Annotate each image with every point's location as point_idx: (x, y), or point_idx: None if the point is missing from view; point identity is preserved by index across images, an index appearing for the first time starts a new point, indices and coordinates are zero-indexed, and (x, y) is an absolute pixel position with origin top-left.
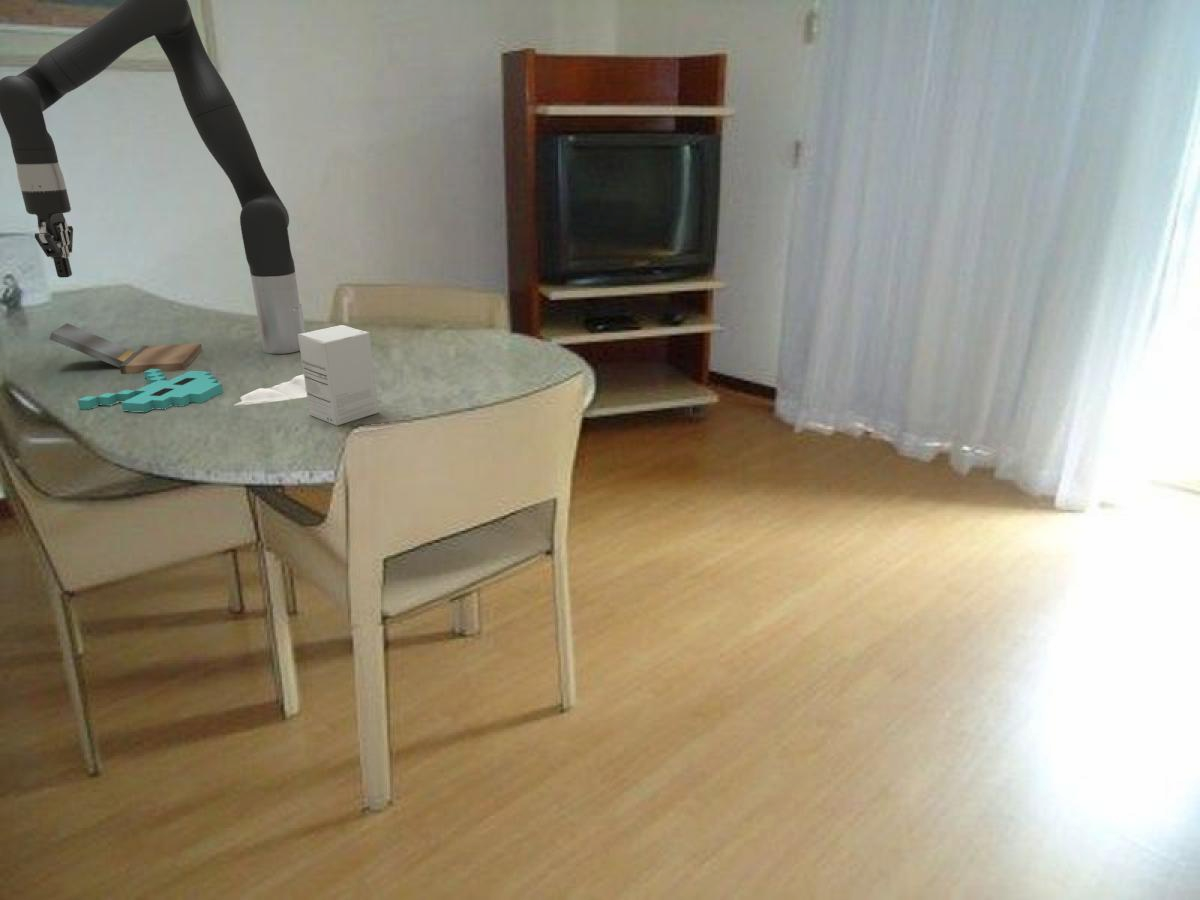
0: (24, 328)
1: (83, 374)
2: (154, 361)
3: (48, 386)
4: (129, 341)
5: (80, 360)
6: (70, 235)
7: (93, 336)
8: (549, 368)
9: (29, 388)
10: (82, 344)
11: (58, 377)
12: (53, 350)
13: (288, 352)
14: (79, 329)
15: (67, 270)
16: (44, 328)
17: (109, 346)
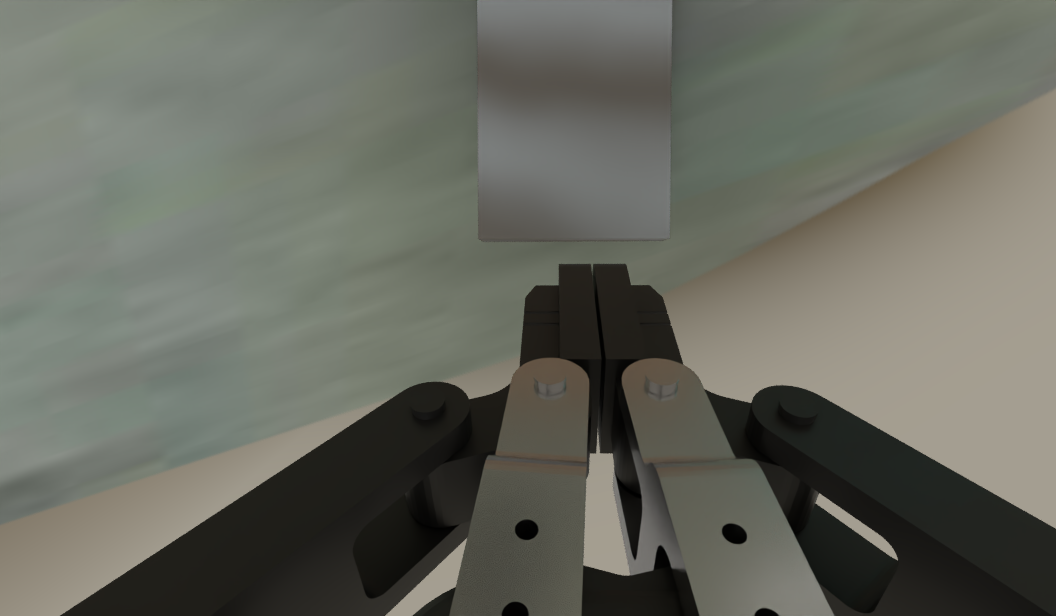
0: (74, 467)
1: (693, 76)
2: None
3: (825, 150)
4: (165, 69)
5: (470, 167)
6: (244, 573)
7: (508, 101)
8: None
9: (823, 206)
10: (666, 97)
11: (706, 160)
12: (325, 306)
13: None
14: (493, 174)
15: (631, 293)
16: (58, 422)
17: (551, 7)
